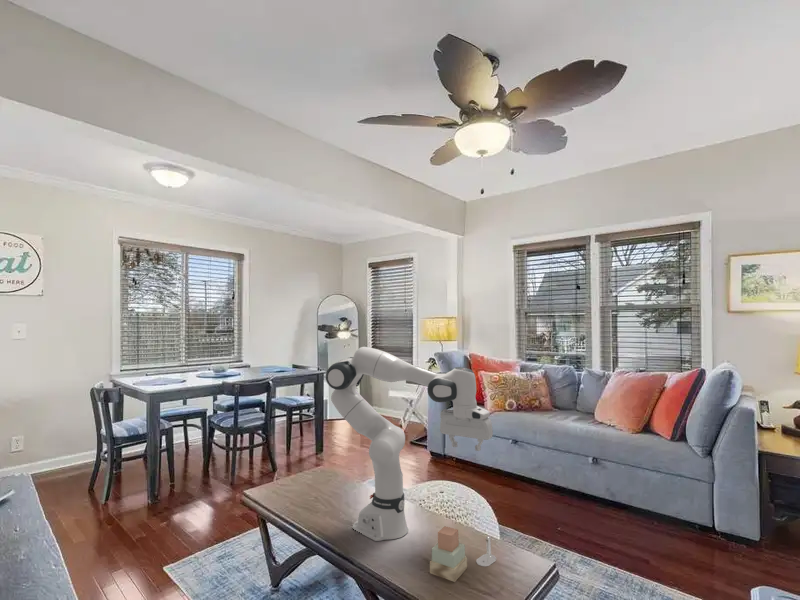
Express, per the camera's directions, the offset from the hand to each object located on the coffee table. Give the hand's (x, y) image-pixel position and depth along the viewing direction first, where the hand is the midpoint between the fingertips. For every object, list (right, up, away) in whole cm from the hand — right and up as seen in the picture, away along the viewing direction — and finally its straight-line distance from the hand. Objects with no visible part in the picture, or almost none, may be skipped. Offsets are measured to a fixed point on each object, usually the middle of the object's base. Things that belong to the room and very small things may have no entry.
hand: (466, 448), depth 163 cm
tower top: (-9, -30, -19) cm, 36 cm away
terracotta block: (-9, -26, -19) cm, 33 cm away
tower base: (-9, -34, -19) cm, 40 cm away
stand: (+5, -34, -14) cm, 37 cm away
